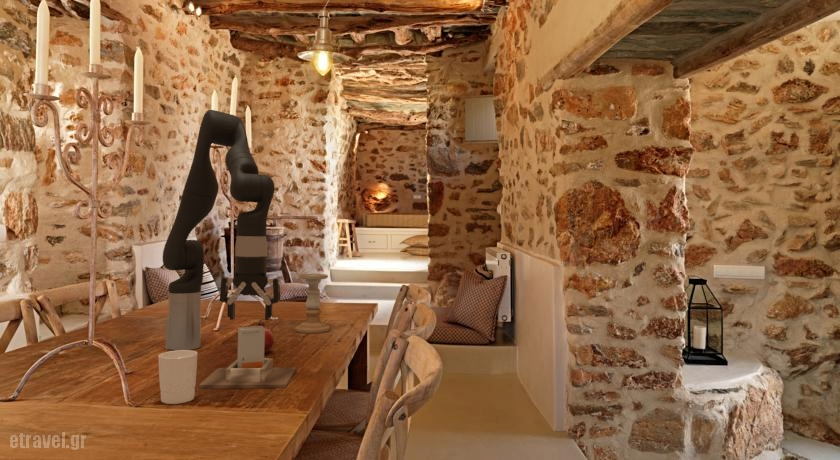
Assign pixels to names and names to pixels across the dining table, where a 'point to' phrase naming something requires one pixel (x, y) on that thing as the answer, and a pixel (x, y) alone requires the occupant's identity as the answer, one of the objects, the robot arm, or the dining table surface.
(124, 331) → the dining table surface
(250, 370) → the socket board
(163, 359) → the white cup
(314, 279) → the candle holder
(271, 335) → the fruit
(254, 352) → the skincare box
